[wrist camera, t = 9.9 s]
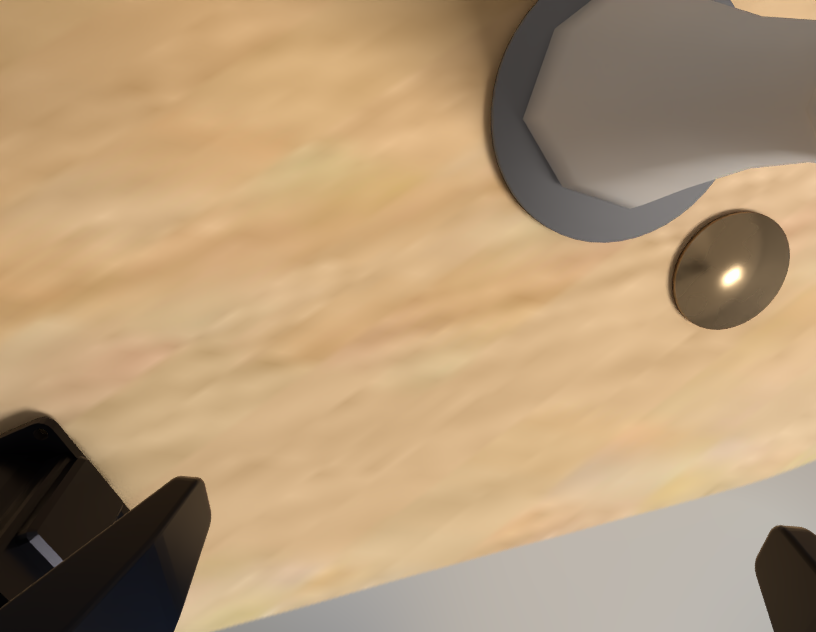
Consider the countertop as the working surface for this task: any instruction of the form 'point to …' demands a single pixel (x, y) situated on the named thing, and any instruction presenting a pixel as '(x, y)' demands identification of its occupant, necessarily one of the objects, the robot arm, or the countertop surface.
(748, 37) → the flask
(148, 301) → the countertop surface
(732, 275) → the bronze token
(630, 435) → the countertop surface
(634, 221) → the rubber mat
